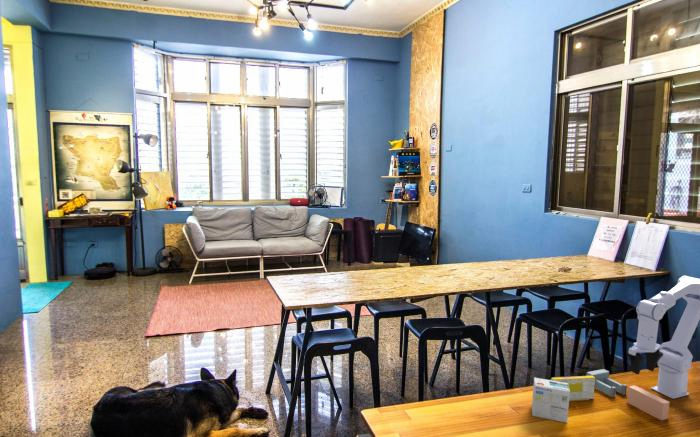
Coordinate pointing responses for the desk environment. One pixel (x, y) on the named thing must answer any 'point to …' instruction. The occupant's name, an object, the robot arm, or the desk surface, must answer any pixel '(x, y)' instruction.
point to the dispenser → (607, 383)
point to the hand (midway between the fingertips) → (642, 371)
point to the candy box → (579, 386)
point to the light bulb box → (550, 399)
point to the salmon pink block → (648, 402)
